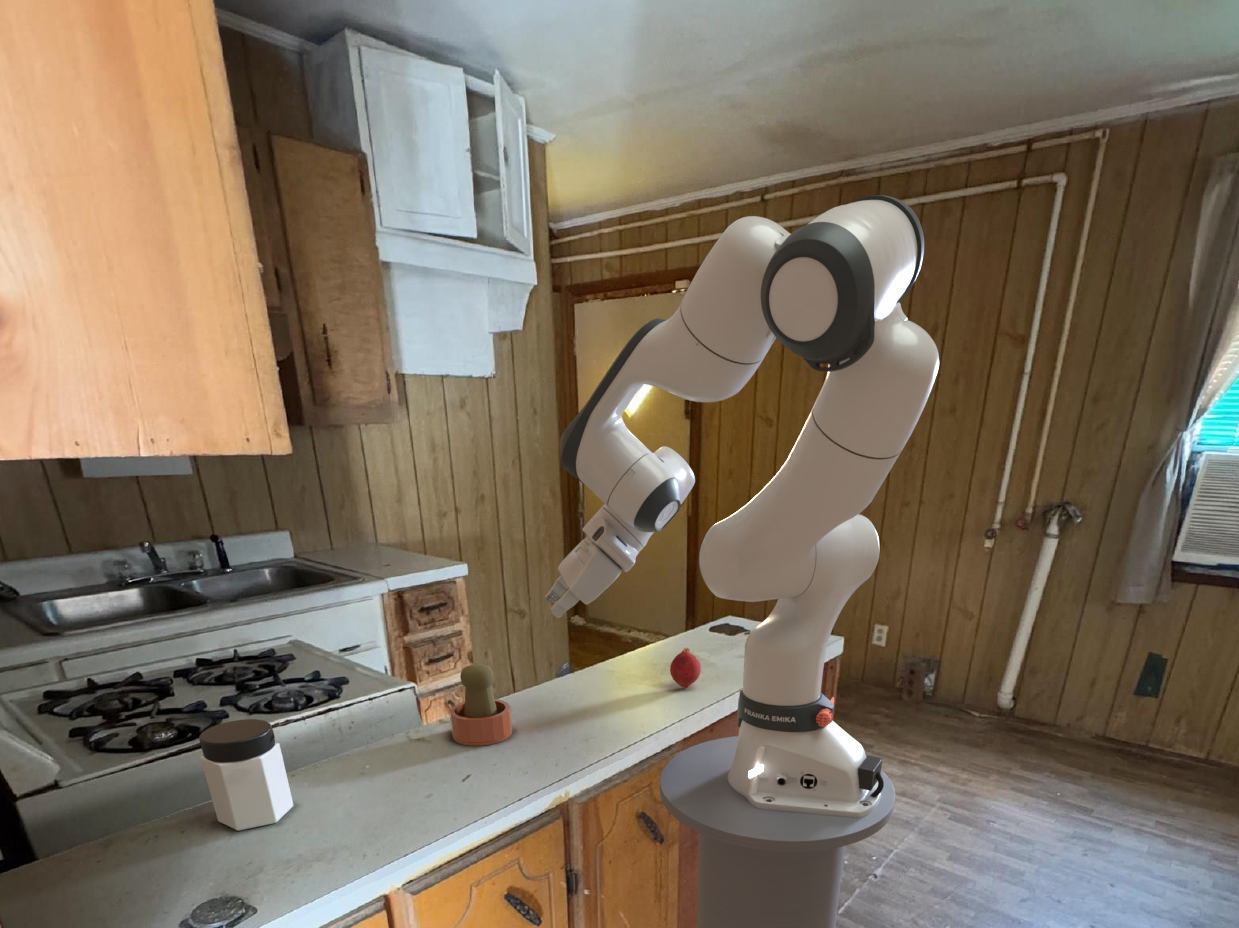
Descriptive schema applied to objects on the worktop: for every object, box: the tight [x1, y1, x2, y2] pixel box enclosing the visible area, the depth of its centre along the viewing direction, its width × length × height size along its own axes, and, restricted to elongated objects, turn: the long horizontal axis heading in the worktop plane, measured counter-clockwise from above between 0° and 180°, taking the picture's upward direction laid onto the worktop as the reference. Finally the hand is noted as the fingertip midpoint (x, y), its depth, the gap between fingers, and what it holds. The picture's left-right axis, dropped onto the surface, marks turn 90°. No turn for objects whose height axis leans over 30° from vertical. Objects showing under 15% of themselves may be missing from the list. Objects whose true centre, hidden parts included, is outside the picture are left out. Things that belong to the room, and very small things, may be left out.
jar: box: [198, 718, 294, 832], centre depth 95 cm, size 9×8×12 cm
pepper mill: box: [460, 663, 498, 718], centre depth 120 cm, size 6×6×11 cm
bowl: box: [448, 698, 513, 747], centre depth 121 cm, size 10×10×4 cm
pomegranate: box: [669, 646, 702, 689], centre depth 141 cm, size 6×6×8 cm
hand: (550, 608), depth 116 cm, fingers open, 8 cm apart
